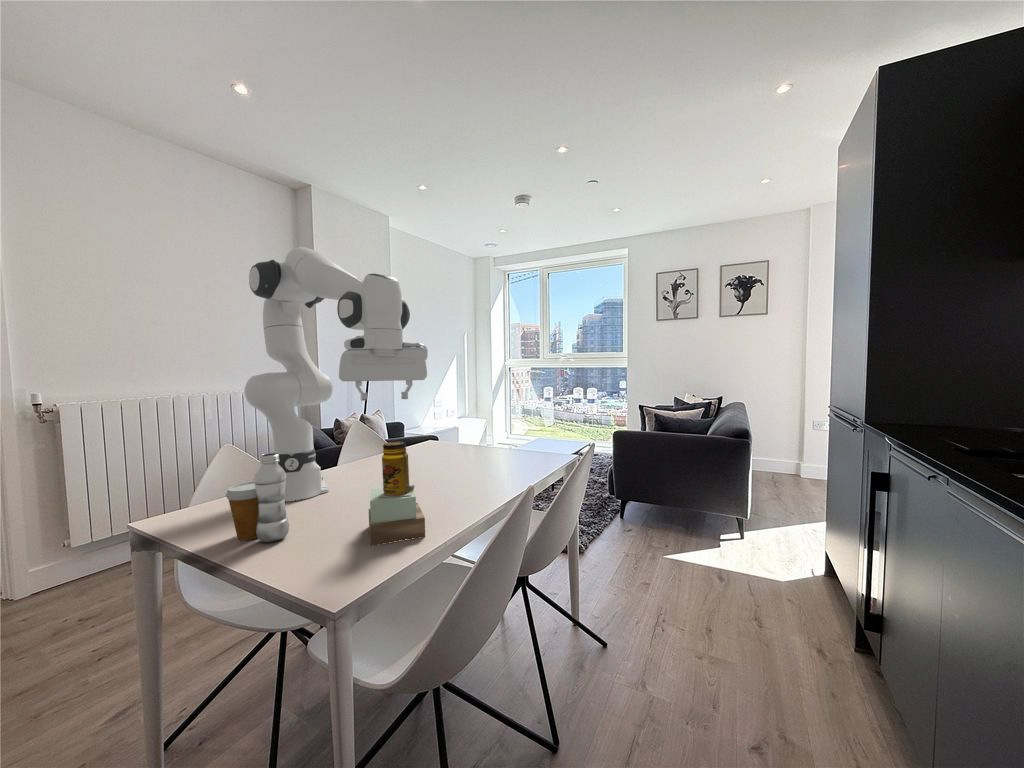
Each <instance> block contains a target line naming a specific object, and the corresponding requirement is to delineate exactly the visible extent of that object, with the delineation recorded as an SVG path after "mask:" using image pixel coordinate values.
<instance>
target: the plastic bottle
mask: <svg viewBox="0 0 1024 768" xmlns="http://www.w3.org/2000/svg"><path fill="white" fill-rule="evenodd" d="M279 461H280V459H279V453H274V452H271V453H269V452H268V453H264V454H261V455H260V461H259V465H260V464H261V466H260V467H259V468H258V470H257V471H256V473H255V474H254V477H253V481H254V484H255V489H256V494H257V501H258V522H257V527H256V534H257V538H256V539H258V540H259V541H260V542H263V543H270V542H271V543H272V542H276V541H279V540H281V539H284V538H286V536H287V535H288V533H289V531H290V523H289V519H288V517H287V509H286V502H285V499H284V498H285V485H286V473H285V471H284V470H283V468H282V467H281V466H280V465H279V464H278V462H279Z"/></svg>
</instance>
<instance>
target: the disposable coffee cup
mask: <svg viewBox="0 0 1024 768" xmlns="http://www.w3.org/2000/svg"><path fill="white" fill-rule="evenodd" d="M225 497H226V499H227V500H228V503H229V508H230V512H231V515H232V516H231V517H232V520H233V524H234V530H235V534H236V537H237V540H240V541H249V540H254V539H255V540H256V539H258V538H257V534H256V527H257V522H258V501H257V494H256V489H255V484H254V480H253V481H248V482H243V483H238V484H235V485H233V486H230V487H228V488H227V491H226V494H225Z"/></svg>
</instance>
